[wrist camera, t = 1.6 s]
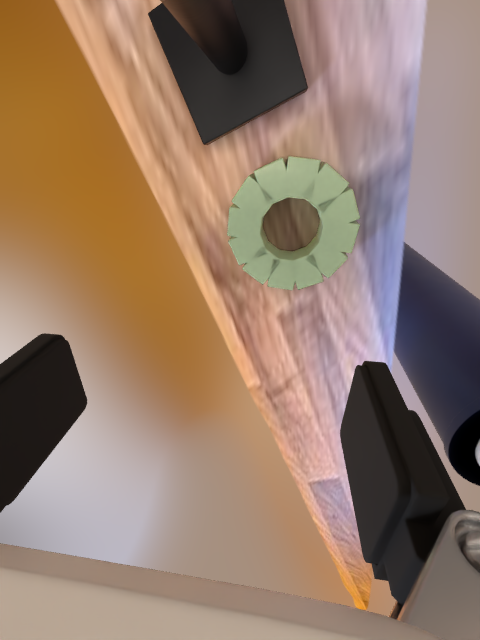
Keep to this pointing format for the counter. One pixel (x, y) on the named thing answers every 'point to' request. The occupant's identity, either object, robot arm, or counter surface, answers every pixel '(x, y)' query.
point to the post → (229, 59)
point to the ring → (302, 183)
